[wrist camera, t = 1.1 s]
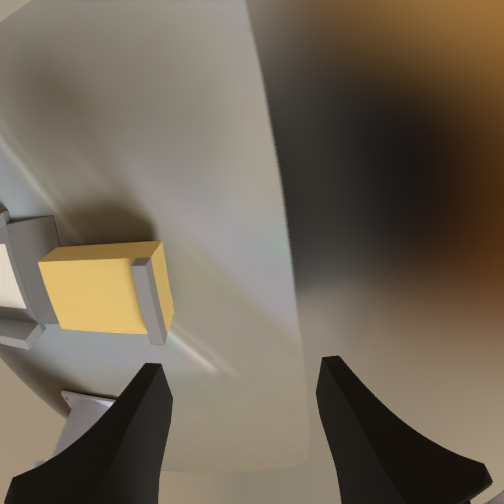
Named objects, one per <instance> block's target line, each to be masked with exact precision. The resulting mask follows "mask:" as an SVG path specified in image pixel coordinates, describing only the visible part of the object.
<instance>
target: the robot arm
mask: <svg viewBox="0 0 504 504" xmlns="http://www.w3.org/2000/svg"><path fill="white" fill-rule="evenodd" d="M61 395H62V396H63V398H64V399H65V401H66V402H67V404H68V405H69V407H70V408H71V409H72V410H71V412H70V414H69V416H68V419H67V421H66V424H65V426H64V428H63V430H62V433H61V435H60V437H59V440H58V442H57V445H56V447H55V450H54V452H53V455H52V458H51V459H50V460H48V461H47V462H45V461H44V460H41V461H36V463H35V465H34V468H33V469H32V470H30V471H27V472H25V473H23V474H21V475H18V476H16V477H13V479H12V481H11V484H10V486H9V489H8V492H7V495H6V498H5V501H4V504H158V492H159V477H160V470H161V465H162V460H163V455H164V451H165V446H166V441H167V437H168V432H169V427H170V423H171V414H172V403H173V397H172V394H171V391H170V389H169V386H168V383H167V380H166V377H165V374H164V371H163V368H162V365H161V364H158V363H145V364H144V365H143V367H142V368H141V369H140V370H139V372H138V373H137V374H136V376H135V377H134V378H133V379H132V381H131V382H130V383H129V385H128V386H127V387H126V388H125V390H124V391H123V392H122V393H121V395H120V396H119V397H118V398H117V399H116V400H113V399H106V398H100V397H94V396H88V395H83V394H78V393H73V392H68V391H62V392H61ZM316 397H317V403H318V408H319V414H320V418H321V421H322V424H323V428H324V431H325V434H326V437H327V440H328V443H329V447H330V450H331V453H332V456H333V460H334V463H335V467H336V471H337V477H338V483H339V489H340V496H341V502H342V504H471V503H470V500H471V499H472V498H474V497H475V496H477V495H478V494H480V493H481V492H483V491H484V490H485V489H487V488H488V487H489V486H491V485H492V482H493V481H492V479H491V476H490V474H489V473H488V470H487V468H486V466H485V465H484V464H483V463H480V462H477V461H475V460H471V459H469V458H466V457H463V456H460V455H458V454H456V453H454V452H452V451H449V450H447V449H445V448H443V447H442V446H440V445H438V444H436V443H434V442H433V441H431V440H429V439H428V438H426V437H424V436H423V435H421V434H420V433H418V432H417V431H415V430H414V429H412V428H411V427H410V426H408V425H407V424H406V423H404V422H403V421H402V420H401V419H400V418H398V417H397V416H396V415H395V414H394V413H392V412H391V411H390V410H389V409H388V408H387V407H386V406H385V405H384V404H383V403H382V402H381V401H380V400H378V399H377V398H376V397H375V395H374V394H373V393H372V392H371V391H370V390H369V389H368V388H367V387H366V386H365V385H364V384H363V383H362V382H361V381H360V380H359V378H358V377H357V376H356V375H355V374H354V373H353V372H352V370H351V369H350V368H349V367H348V366H347V365H346V363H344V361H343V360H342V359H341V357H340V356H330V357H322V362H321V368H320V373H319V379H318V384H317V389H316ZM484 504H504V490H503V491H502V492H500V493H499V494H498V495H496V496H495V497H494V498H492V499H491V500H489V501H488V502H486V503H484Z"/></svg>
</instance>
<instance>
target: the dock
mask: <svg viewBox="0 0 504 504" xmlns="http://www.w3.org/2000/svg"><path fill="white" fill-rule="evenodd" d="M57 247H60V244H59V240H58V236H57V231H56V227H55V222H54V217H53V216H47V217H41V218H34V219H28V220H22V221H16V222H10V218H9V213H8V211H3V212H0V343H1V344H5V345H9V346H14V347H18V348H23V349H27V350H30V349H31V348H32V346H33V345H34V344H35V342H36V341H37V340H38V338H39V337H40V336H41V334H42V333H43V332H44V330H45V327H44V324H59V321H58V319H57V316H56V314H55V311H54V309H53V306H52V303H51V301H50V298H49V295H48V292H47V290H46V287H45V284H44V281H43V277H42V274H41V271H40V268H39V265H38V261H40V260H41V259H42V258H44V257H45V256H46V255H47V254H49V253H50V252H51V251H53V250H54V249H55V248H57Z"/></svg>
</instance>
